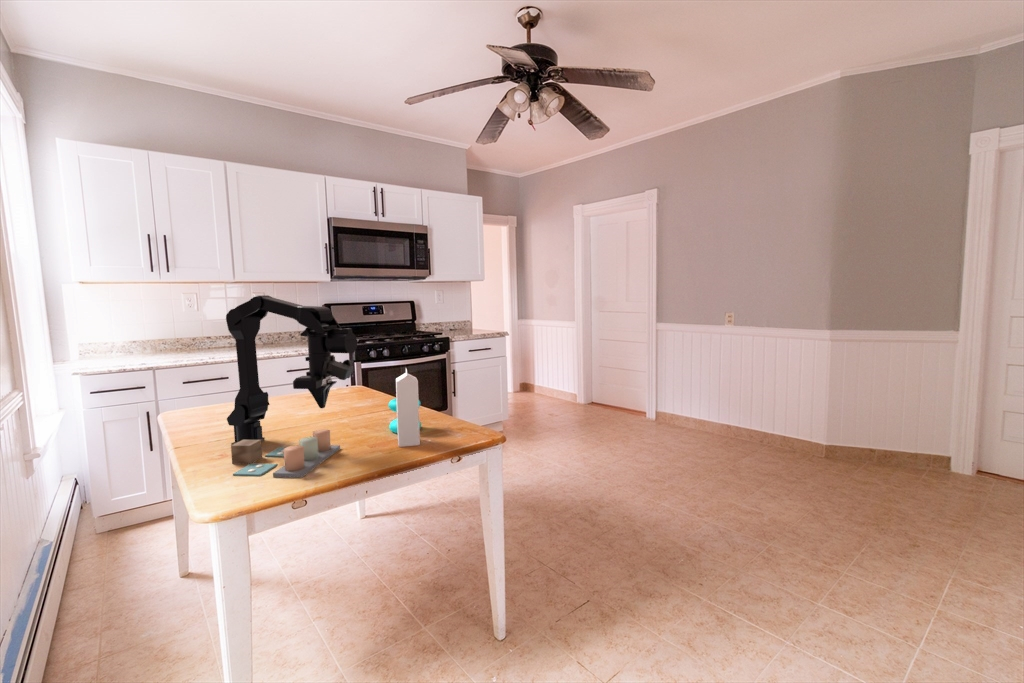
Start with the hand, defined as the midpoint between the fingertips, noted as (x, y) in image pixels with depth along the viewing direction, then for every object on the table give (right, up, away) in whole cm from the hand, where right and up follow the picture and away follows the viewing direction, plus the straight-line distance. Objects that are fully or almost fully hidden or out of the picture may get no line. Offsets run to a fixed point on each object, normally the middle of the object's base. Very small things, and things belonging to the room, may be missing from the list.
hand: (322, 408), depth 130 cm
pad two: (-11, -14, -14) cm, 22 cm away
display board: (0, -13, -8) cm, 15 cm away
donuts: (+19, -10, +20) cm, 29 cm away
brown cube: (-17, -13, -7) cm, 22 cm away
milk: (+23, -11, +7) cm, 26 cm away
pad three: (-10, -12, -1) cm, 16 cm away
